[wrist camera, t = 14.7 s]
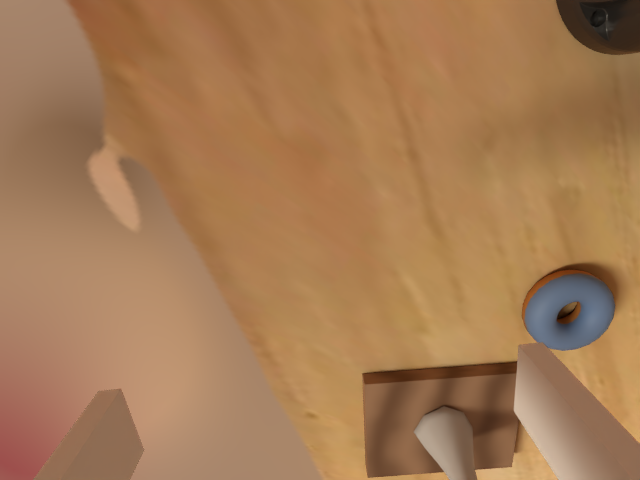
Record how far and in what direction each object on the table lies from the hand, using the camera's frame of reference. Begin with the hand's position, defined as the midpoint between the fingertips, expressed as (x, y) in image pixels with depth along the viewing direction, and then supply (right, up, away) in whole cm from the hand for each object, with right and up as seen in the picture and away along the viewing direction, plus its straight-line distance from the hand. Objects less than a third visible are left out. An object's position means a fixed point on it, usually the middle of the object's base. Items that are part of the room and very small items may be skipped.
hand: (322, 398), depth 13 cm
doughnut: (+29, -2, +34) cm, 44 cm away
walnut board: (+16, -19, +39) cm, 46 cm away
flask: (+16, -19, +37) cm, 45 cm away
